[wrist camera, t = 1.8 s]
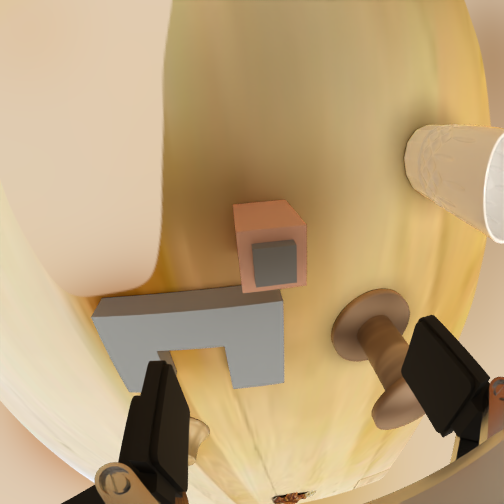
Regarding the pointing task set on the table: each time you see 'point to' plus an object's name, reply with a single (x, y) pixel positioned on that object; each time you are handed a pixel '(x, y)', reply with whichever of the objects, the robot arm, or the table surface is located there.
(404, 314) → the bobbin
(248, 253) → the copper brown square peg
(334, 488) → the table surface
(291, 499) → the brown irregular lump
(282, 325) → the notch board
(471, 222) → the white cup
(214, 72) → the table surface
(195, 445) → the hand bell
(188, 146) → the table surface
